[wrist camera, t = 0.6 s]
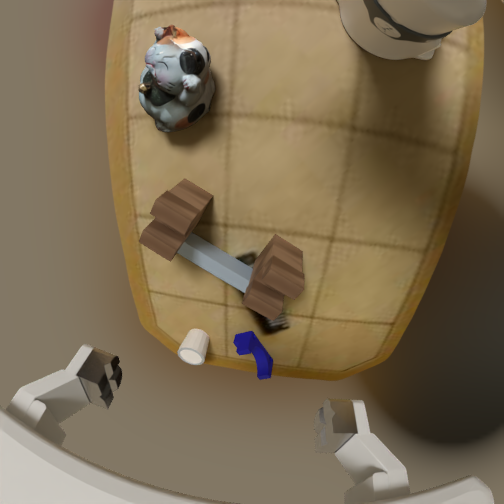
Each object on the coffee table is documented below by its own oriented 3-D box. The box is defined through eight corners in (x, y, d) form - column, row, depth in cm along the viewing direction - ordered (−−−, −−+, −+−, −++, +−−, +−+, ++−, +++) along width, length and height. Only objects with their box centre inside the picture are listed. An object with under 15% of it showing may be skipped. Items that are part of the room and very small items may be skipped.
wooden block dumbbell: (186, 175, 48) (155, 199, 37) (304, 248, 51) (304, 289, 41) (168, 211, 52) (138, 241, 42) (279, 278, 56) (273, 320, 45)
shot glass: (186, 323, 67) (177, 344, 61) (213, 332, 67) (205, 353, 61) (185, 340, 71) (176, 360, 65) (210, 348, 71) (202, 368, 65)
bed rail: (168, 218, 53) (159, 227, 49) (273, 281, 56) (271, 293, 53) (163, 229, 54) (154, 239, 51) (265, 290, 58) (262, 303, 54)
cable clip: (235, 333, 66) (230, 352, 61) (252, 330, 65) (247, 349, 60) (257, 362, 71) (254, 380, 66) (273, 359, 70) (270, 377, 65)
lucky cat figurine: (133, 77, 39) (107, 36, 25) (196, 51, 39) (189, 2, 26) (159, 145, 41) (133, 115, 27) (228, 115, 41) (231, 74, 28)
